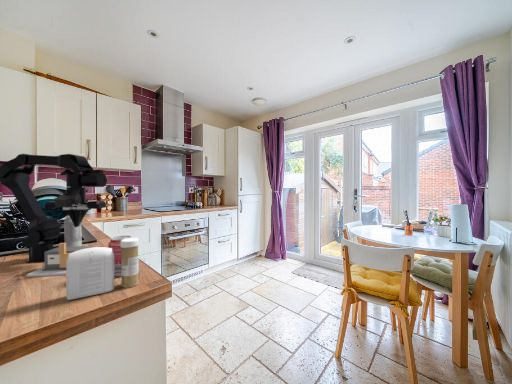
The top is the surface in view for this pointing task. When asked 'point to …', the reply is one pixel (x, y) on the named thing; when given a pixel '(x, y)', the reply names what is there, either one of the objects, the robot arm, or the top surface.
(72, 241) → the energy drink can
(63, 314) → the top surface
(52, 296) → the top surface
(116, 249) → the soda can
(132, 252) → the sprinkles bottle
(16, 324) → the top surface
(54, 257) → the grey and white panel
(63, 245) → the wooden block
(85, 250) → the grey rounded-corner block
